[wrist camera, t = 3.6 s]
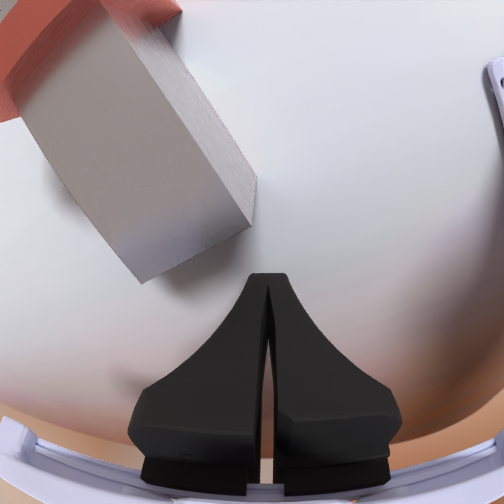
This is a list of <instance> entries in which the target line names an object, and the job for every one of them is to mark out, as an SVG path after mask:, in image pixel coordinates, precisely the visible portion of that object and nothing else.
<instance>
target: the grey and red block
mask: <svg viewBox="0 0 504 504" xmlns="http://www.w3.org/2000/svg"><path fill="white" fill-rule="evenodd" d="M181 11H182V9H181V8H180V7H179V5H178V4H177V3H176V1H175V0H0V123H1V122H4V121H8V120H11V119H14V118H17V117H22V119H23V120H24V122H25V124H26V126H27V127H28V129H29V131H30V132H31V134H32V136H33V137H34V139H35V141H36V142H37V144H38V145H39V147H40V149H41V150H42V152H43V153H44V155H45V157H46V158H47V160H48V161H49V163H50V164H51V166H52V167H53V169H54V170H55V172H56V173H57V175H58V176H59V178H60V179H61V181H62V182H63V184H64V185H65V187H66V188H67V189H68V191H69V192H70V194H71V195H72V197H73V198H74V199H75V201H76V202H77V204H78V205H79V206H80V208H81V209H82V210H83V212H84V213H85V214H86V216H87V217H88V219H89V220H90V221H91V222H92V224H93V225H94V226H95V228H96V229H97V230H98V232H99V233H100V234H101V236H102V237H103V238H104V239H105V241H106V242H107V243H108V244H109V246H110V247H111V248H112V249H113V251H114V252H115V253H116V254H117V256H118V257H119V258H120V259H121V261H122V262H123V263H124V264H125V265H126V267H127V268H128V269H129V270H130V271H131V273H132V274H133V275H134V276H135V277H136V278H137V280H138V281H139V282H140V283H141V284H143V283H145V282H147V281H149V280H151V279H153V278H154V277H156V276H158V275H160V274H162V273H164V272H166V271H167V270H169V269H171V268H173V267H175V266H177V265H179V264H181V263H182V262H184V261H186V260H188V259H190V258H192V257H194V256H196V255H198V254H199V253H201V252H203V251H205V250H207V249H209V248H211V247H213V246H215V245H217V244H218V243H220V242H222V241H224V240H226V239H228V238H230V237H232V236H234V235H236V234H238V233H240V232H242V231H244V230H245V229H247V228H249V227H251V226H252V218H253V208H254V199H255V189H256V180H257V176H256V174H255V173H254V171H253V169H252V168H251V166H250V165H249V163H248V161H247V160H246V158H245V157H244V155H243V153H242V152H241V150H240V149H239V147H238V145H237V144H236V142H235V141H234V139H233V138H232V136H231V134H230V133H229V131H228V130H227V128H226V127H225V125H224V124H223V122H222V120H221V119H220V117H219V116H218V114H217V113H216V111H215V110H214V108H213V107H212V105H211V104H210V102H209V101H208V99H207V98H206V96H205V95H204V93H203V92H202V90H201V89H200V87H199V86H198V84H197V83H196V81H195V80H194V78H193V77H192V75H191V74H190V72H189V71H188V69H187V68H186V66H185V65H184V63H183V62H182V61H181V59H180V58H179V56H178V55H177V53H176V52H175V50H174V49H173V48H172V46H171V45H170V43H169V42H168V41H167V39H166V38H165V36H164V35H163V33H162V32H161V31H160V29H159V28H158V27H159V26H160V25H162V24H163V23H165V22H166V21H168V20H169V19H171V18H172V17H174V16H175V15H177V14H178V13H180V12H181Z"/></svg>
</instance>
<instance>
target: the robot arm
mask: <svg viewBox="0 0 504 504" xmlns="http://www.w3.org/2000/svg"><path fill="white" fill-rule="evenodd" d="M487 70H488V74H489V77H490V80H491V83H492V86H493V90H494V93H495V96H496V100H497V103H498V107H499V110H500V114H501V118H502V122H503V126H504V56H501V57H498V58H495V59H491V60H490V61H489V62H488V64H487ZM501 80H502V82H503V86H501V83H500V81H501ZM268 338H269V347H270V357H271V366H272V376H273V387H274V447H273V484H260V461H261V418H262V388H263V379H264V370H265V362H266V354H267V345H268ZM401 425H402V418H401V414H400V410H399V407H398V405H397V403H396V400H395V398H394V396H393V394H392V392H391V390H390V389H389V388H388V387H386V386H384V385H383V384H381V383H380V382H378V381H377V380H375V379H373V378H372V377H370V376H369V375H367V374H366V373H364V372H363V371H362V370H361V369H359V368H358V367H357V366H355V365H354V364H353V363H352V362H351V361H350V360H349V359H347V358H346V357H345V356H344V355H343V354H342V353H341V352H340V351H338V350H337V349H336V347H335V346H334V345H333V344H332V343H331V342H330V341H329V340H328V339H327V338H326V337H325V336H324V335H323V333H322V332H321V331H320V330H319V329H318V327H317V326H316V325H315V323H314V322H313V321H312V319H311V318H310V317H309V315H308V314H307V312H306V311H305V309H304V308H303V306H302V304H301V303H300V301H299V300H298V298H297V296H296V294H295V292H294V290H293V289H292V286H291V284H290V282H289V280H288V277H287V275H286V274H285V273H252V274H251V275H249V277H248V280H247V283H246V285H245V287H244V289H243V291H242V293H241V295H240V296H239V298H238V300H237V301H236V303H235V305H234V306H233V308H232V310H231V311H230V312H229V314H228V315H227V317H226V318H225V319H224V321H223V322H222V324H221V325H220V326H219V327H218V329H217V330H216V331H215V332H214V333H213V334H212V336H211V337H210V338H209V339H208V340H207V341H206V342H205V343H204V344H203V345H202V346H201V347H200V348H199V349H198V350H197V351H196V352H195V353H194V354H193V355H192V356H191V357H190V358H188V359H187V360H186V361H185V362H183V363H182V364H181V365H180V366H178V367H177V368H176V369H175V370H173V371H172V372H171V373H169V374H168V375H167V376H165V377H163V378H162V379H160V380H159V381H157V382H156V383H154V384H152V385H151V386H149V387H147V388H146V389H144V390H143V391H142V393H141V395H140V397H139V399H138V401H137V404H136V406H135V408H134V411H133V414H132V417H131V420H130V423H129V427H128V435H129V437H130V439H131V440H132V442H133V443H134V444H135V445H136V446H137V448H138V449H139V450H140V451H141V452H142V453H143V454H144V455H145V459H144V463H143V467H142V470H137V469H133V468H129V467H125V466H121V465H117V464H113V463H109V462H106V461H102V460H99V459H96V458H93V457H90V456H86V455H83V454H80V453H77V452H74V451H72V450H69V449H66V448H63V447H61V446H58V445H56V444H53V443H50V442H48V441H45V440H43V439H41V438H38V437H37V436H36V434H35V433H34V432H33V431H31V430H30V429H29V428H28V427H26V426H25V425H23V424H21V423H19V422H17V421H15V420H13V419H11V418H9V417H7V416H4V417H3V419H2V421H1V423H0V478H2V479H4V480H5V481H7V482H8V483H10V484H11V485H13V486H15V487H16V488H18V489H20V490H21V491H23V492H25V493H26V494H28V495H30V496H32V497H33V498H35V499H37V500H39V501H41V502H43V503H45V504H489V503H491V502H493V501H495V500H496V499H498V498H500V497H502V496H504V428H503V429H502V430H501V431H500V432H499V433H498V434H497V435H496V437H495V438H492V439H490V440H488V441H485V442H483V443H481V444H478V445H476V446H473V447H470V448H468V449H465V450H463V451H460V452H457V453H454V454H451V455H448V456H445V457H442V458H438V459H435V460H432V461H428V462H425V463H421V464H418V465H414V466H410V467H406V468H402V469H397V470H393V471H390V470H389V464H388V459H387V457H389V456H390V450H389V445H388V443H389V442H390V441H391V439H392V438H393V437H394V436H395V434H396V433H397V432H398V430H399V429H400V427H401ZM170 498H171V499H177V500H175V501H174V502H173V501H172V500H171V499H170ZM352 500H357V502H356V503H351V502H350V501H352Z"/></svg>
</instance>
